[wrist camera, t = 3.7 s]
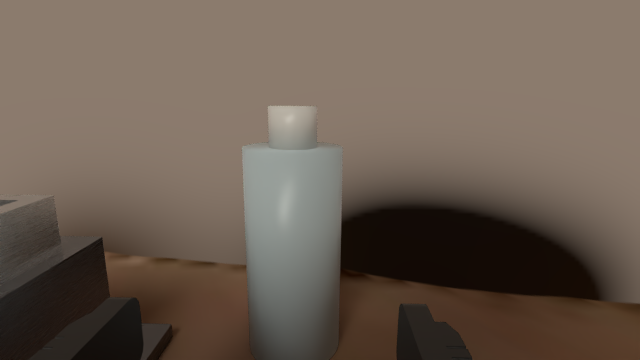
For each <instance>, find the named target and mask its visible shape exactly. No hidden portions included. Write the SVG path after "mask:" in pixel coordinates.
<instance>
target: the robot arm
mask: <svg viewBox="0 0 640 360" xmlns="http://www.w3.org/2000/svg"><path fill="white" fill-rule="evenodd" d="M143 347H144V342H143V332H142V323H141V314H140V306H139V302H138V300H137V299H136V298H121V297H110V298H107V299H106V300H105V301H104V302H103V303H102V304H101V305H99V306H98V307H97V308H96V309H95V310H94V311H93V312H92V313H91V314H87V315H85V316H83V317H82V318H80V319H78V320H76V321H74V322H72V323H71V324H69V325H68V326H67V327H66V328H64V329H63V330H62V331H61V332H60V333H59V334H57V335H56V336H55V339H52V340H51V341H49V342H48V343H47V344H46V345H45V346H44V347H43V349H42V350H39V351H38V352H37V353H36V354H34V355H33V356H32V357H31V358H30V359H29V360H140V359H141V357H142V353H143ZM397 360H472V356H471V355H470V353H469V351H468V349H466V346H465V344H464V342H463V340H462V339H461V337H460V335H459V333H458V332H456V331H455V330H454V329H453V328H452V327H451V326H449V325H448V324H447V323H446V322H434V319H433V317H432V315H431V313H430V311H429V309H428V307H427V305H426V304H400V307H399V319H398V335H397Z"/></svg>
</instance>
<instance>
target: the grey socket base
mask: <svg viewBox="0 0 640 360" xmlns="http://www.w3.org/2000/svg"><path fill="white" fill-rule="evenodd" d="M107 298H110V294H109V286H108V279H107V271H106V263H105V255H104V248H103V240H102V237H78V236H76V237H75V236H60V234H59V227H58V221H57V214H56V208H55V201H54V196H53V195H0V360H29V359H30V358H31V357H32V356H33V355H34V354H36V353H37V352H38V351H39V350H42V349H43V347H44V346H45V345H46V344H47V343H48V342H49V341H51V340H52V339H55V336H56V335H57V334H59V333H60V332H61V331H62V330H63V329H64V328H66V327H67V326H68V325H69V324H71V323H72V322H74V321H76V320H78V319H80V318H82V317H83V316H85V315H87V314H91V313H92V312H93V311H94V310H95V309H96V308H97V307H98V306H99V305H101V304H102V303H103V302H104V301H105V300H106V299H107ZM142 332H143V342H144V347H143V353H142V357H141V359H140V360H157V359H158V358H159V356H160V355H161V353H162V352H163V350H164V349H165V347H166V345H167V344H168V342H169V341H170V339H171V338H172V326H171V324H144V323H142Z"/></svg>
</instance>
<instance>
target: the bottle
mask: <svg viewBox="0 0 640 360" xmlns="http://www.w3.org/2000/svg"><path fill="white" fill-rule="evenodd" d="M268 134H269V142H264V143H255V144H250V145H246V146H243V147H242V159H243V184H244V211H245V235H246V236H245V237H246V262H247V288H248V314H249V339H250V350H251V353H252V355H253V356H254V358H255V359H256V360H329V359H330V358H331V357H332V356H333V355H334V354H335V352H336V350H337V348H338V343H339V300H340V251H341V206H342V204H341V203H342V160H343V159H342V158H343V147H342V146H340V145H336V144H330V143H322V142H317V106H268Z"/></svg>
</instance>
